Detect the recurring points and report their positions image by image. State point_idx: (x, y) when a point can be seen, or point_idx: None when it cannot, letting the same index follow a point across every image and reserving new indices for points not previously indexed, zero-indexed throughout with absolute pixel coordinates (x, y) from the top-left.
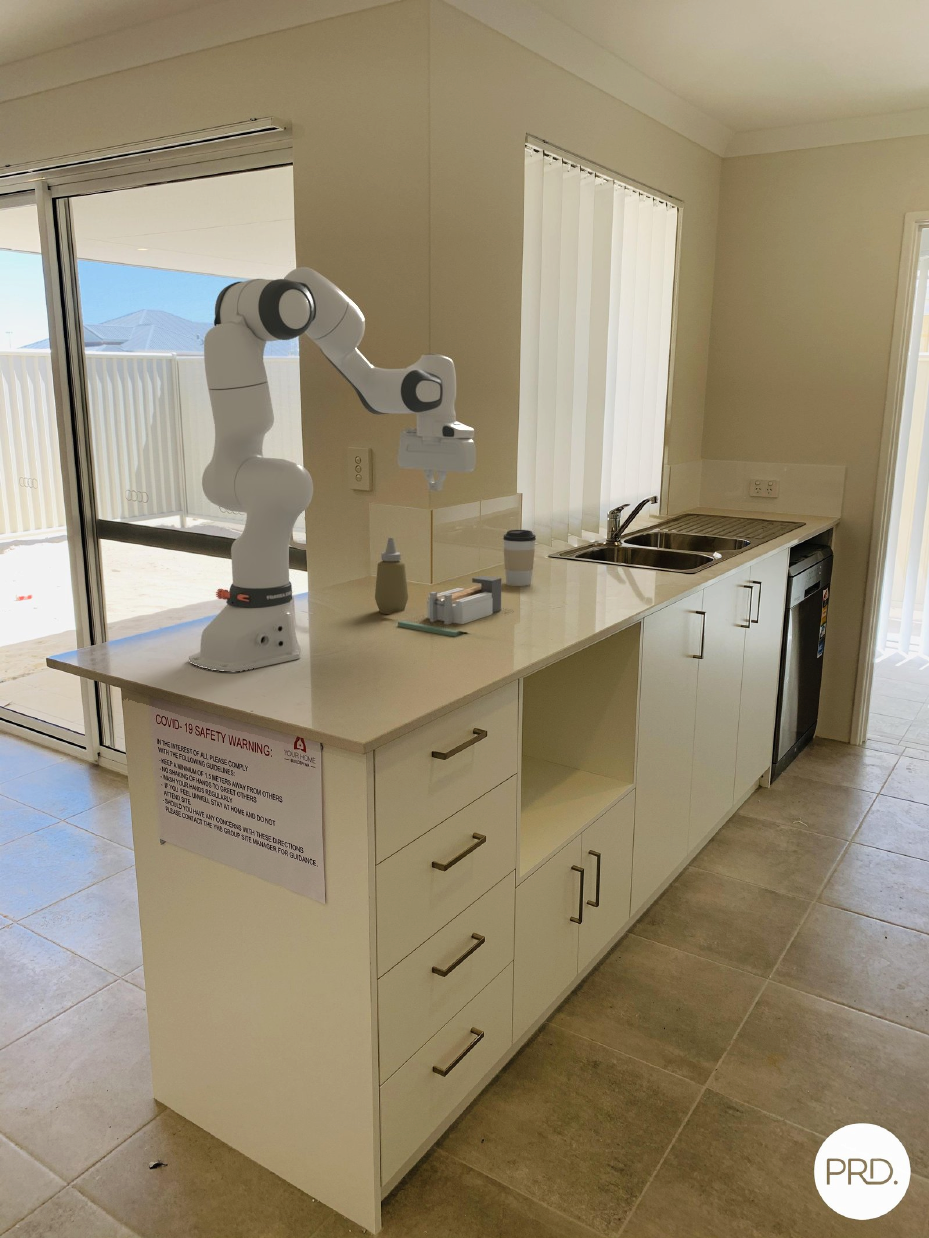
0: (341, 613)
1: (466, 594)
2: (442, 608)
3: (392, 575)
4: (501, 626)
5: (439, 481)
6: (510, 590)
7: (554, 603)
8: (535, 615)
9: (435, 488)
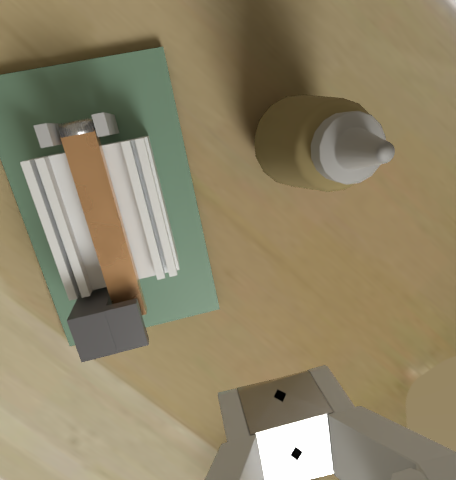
0: (361, 36)
1: (90, 234)
2: None
3: (290, 118)
4: (2, 241)
5: (215, 464)
6: None
7: (109, 455)
8: (44, 363)
9: (248, 392)
